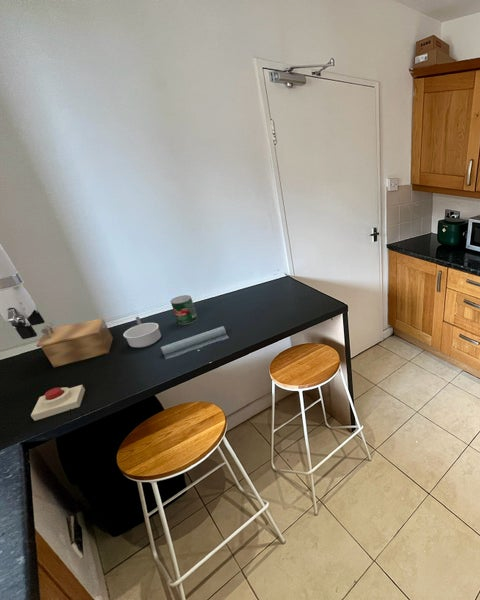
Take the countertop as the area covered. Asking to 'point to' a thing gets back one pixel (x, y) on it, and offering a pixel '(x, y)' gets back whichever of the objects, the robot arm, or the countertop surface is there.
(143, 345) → the saucepan
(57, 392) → the button
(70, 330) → the lid
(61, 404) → the switch block
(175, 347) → the aluminum foil
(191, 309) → the canned tomato
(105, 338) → the box
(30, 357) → the countertop surface
